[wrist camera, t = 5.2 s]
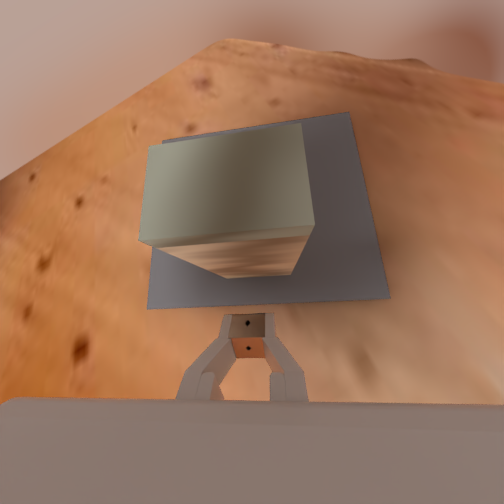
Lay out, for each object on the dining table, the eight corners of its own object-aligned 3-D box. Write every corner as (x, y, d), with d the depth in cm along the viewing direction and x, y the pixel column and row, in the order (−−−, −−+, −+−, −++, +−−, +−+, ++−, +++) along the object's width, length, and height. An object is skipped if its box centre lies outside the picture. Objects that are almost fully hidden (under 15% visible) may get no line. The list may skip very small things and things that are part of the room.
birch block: (226, 278, 18) (138, 240, 7) (226, 238, 19) (148, 145, 8) (290, 274, 17) (315, 224, 6) (286, 233, 18) (300, 122, 7)
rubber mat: (150, 309, 19) (146, 309, 18) (164, 144, 24) (162, 140, 24) (386, 298, 16) (390, 298, 16) (347, 116, 22) (349, 111, 21)
